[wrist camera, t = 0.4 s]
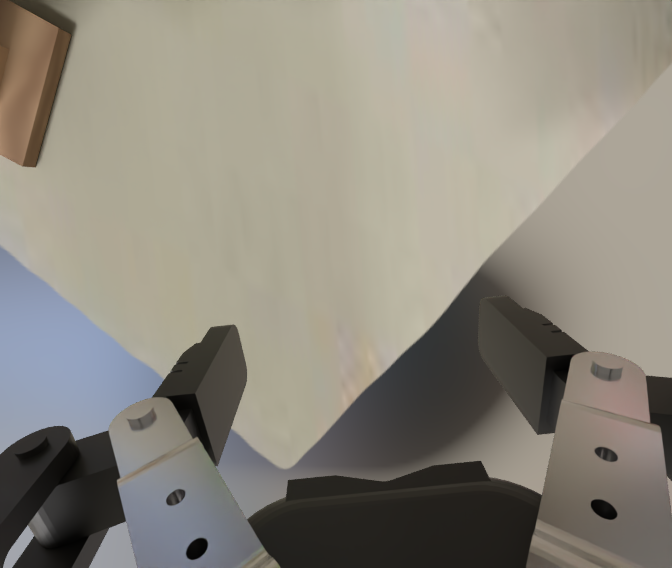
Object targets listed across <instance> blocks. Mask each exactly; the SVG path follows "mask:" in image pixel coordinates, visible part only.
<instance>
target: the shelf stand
mask: <svg viewBox="0 0 672 568" xmlns="http://www.w3.org/2000/svg"><path fill="white" fill-rule="evenodd" d="M70 38H71V34H69V33H67V32H65V31H64V30H62V29H60V28H58V27H56V26H54V25H53V24H51V23H49V22H47V21H45V20H44V19H42V18H40V17H38V16H36V15H35V14H33V13H31V12H29V11H27V10H25V9H24V8H22V7H20V6H18V5H16V4H15V3H13V2H11V1H9V0H0V155H2V156H4V157H6V158H8V159H10V160H11V161H13V162H15V163H17V164H19V165H21V166H25V167H35V166H36V163H37V159H38V155H39V152H40V148H41V144H42V141H43V137H44V133H45V130H46V126H47V122H48V119H49V115H50V111H51V108H52V104H53V100H54V97H55V93H56V89H57V86H58V82H59V78H60V75H61V71H62V67H63V64H64V60H65V56H66V53H67V49H68V45H69V42H70Z"/></svg>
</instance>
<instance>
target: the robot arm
mask: <svg viewBox="0 0 672 568" xmlns="http://www.w3.org/2000/svg"><path fill="white" fill-rule="evenodd" d="M478 327H479V328H478V347H479V351H480V355H481V357H482V359H483V360H484V362H485V363H486V364H487V366H488V367H489V369H490V370H491V371H492V373H493V374H494V376H495V377H496V378H497V380H498V381H499V382H500V384H501V385H502V387H503V388H504V389H505V391H506V392H507V394H508V395H509V396H510V397H511V399H512V400H513V402H514V403H515V405H516V406H517V407H518V409H519V410H520V411H521V413H522V414H523V416H524V417H525V418H526V420H527V421H528V422H529V424H530V425H531V426H532V428H533V429H534V431H535V432H536V433H537V435H539V434H548V433H555V435H554V439H553V444H552V449H551V454H550V459H549V464H548V468H547V474H546V478H545V483H544V488H543V493H542V495H541V494H539V493H537V492H535V491H533V490H531V489H528V488H526V487H523V486H521V485H518V484H515V483H512V482H509V481H505V480H501V479H497V478H490V477H489V476H488V474H487V473H486V470H485V468H484V466H483V464H482V462H481V461H474V462H464V463H455V464H445V465H434V466H431V467H428V468H425V469H422V470H419V471H416V472H413V473H411V474H408V475H405V476H402V477H399V478H396V479H394V480H390V481H386V482H382V481H374V480H366V479H358V478H350V477H343V476H325V477H315V478H305V479H295V480H288V486H287V494H286V497H285V498H283V499H280V500H278V501H276V502H274V503H272V504H270V505H267V506H266V507H264V508H263V509H261V510H259V511H257V512H256V513H255V514H253V515H252V516H251V517H249V518H248V519H246V517H245V516H244V514H243V512H242V510H241V509H240V507H239V505H238V504H237V502H236V500H235V499H234V497H233V496H232V494H231V492H230V490H229V489H228V487H227V485H226V484H225V482H224V480H223V479H222V477H221V475H220V474H219V472H218V471H217V469H216V467H215V466H218V464H219V460H220V458H221V455H222V452H223V449H224V446H225V443H226V440H227V438H228V435H229V432H230V429H231V426H232V423H233V420H234V417H235V414H236V412H237V409H238V406H239V403H240V400H241V397H242V394H243V391H244V388H245V386H246V382H247V367H246V362H245V358H244V354H243V350H242V346H241V341H240V337H239V333H238V330H237V327H236V326H235V325H226V326H217V327H211V328H210V329H209V331H208V332H207V334H206V335H205V337H204V338H203V340H202V341H201V343H196V344H194V345H193V346H192V347H190V348H189V349H188V350H186V351H185V352H184V353H183V354H182V355H181V357H180V358H179V360H178V361H177V363H176V365H174V367H173V368H172V370H171V371H170V372H171V373H169V374H168V375H167V377H166V378H165V380H164V381H163V382H162V384H161V386H160V387H159V388H158V390H157V391H156V393H155V394H154V395H153V397H152V398H149V399H145V400H142V401H140V402H137V403H135V404H133V405H131V406H129V407H127V408H126V409H124V410H123V411H122V412H120V413H119V414H118V415H117V416H116V417H115V418H114V419H113V421H112V422H111V424H110V426H109V430H108V431H106V432H103V433H99V434H96V435H93V436H89V437H86V438H83V439H80V440H77V441H75V440H74V437H73V435H72V433H71V431H70V429H69V428H67V427H64V426H54V427H48V428H45V429H42V430H39V431H36V432H34V433H32V434H29V435H27V436H25V437H24V438H22V439H20V440H18V441H17V442H15V443H14V444H12V445H11V446H10V447H8V448H7V449H6V450H5V451H4V452H3V453H1V454H0V568H3V564H4V561H5V558H6V556H7V554H8V552H9V550H10V549H11V547H12V546H13V544H14V543H15V542H16V540H17V539H18V537H19V536H20V535H21V533H22V532H23V531H24V529H25V528H26V527H27V525H28V526H29V527H30V529H31V530H32V532H33V534H34V537H33V539H32V540H31V542H30V543H29V545H28V546H27V547H26V549H25V550H24V552H23V553H22V555H21V556H20V557H19V559H18V560H17V562H16V563H15V565H14V566H13V567H12V568H89V566H90V564H91V562H92V560H93V558H94V556H95V554H96V552H97V551H98V549H99V547H100V545H101V543H102V541H103V539H104V537H105V535H106V533H107V531H108V529H109V528H110V527H112V526H115V525H117V524H120V523H123V522H125V521H126V523H127V527H128V531H129V535H130V539H131V543H132V548H133V552H134V556H135V560H136V564H137V568H672V513H671V506H670V497H669V490H668V482H667V476H668V478H669V479H671V481H672V378H667V377H655V376H646V375H645V373H644V371H643V370H642V369H641V368H640V367H639V366H638V365H636V364H635V363H633V362H631V361H630V360H628V359H625V358H623V357H620V356H617V355H613V354H609V353H604V352H589V351H588V350H586V349H585V348H584V347H582V346H581V345H580V344H579V343H577V342H576V341H575V340H574V339H572V338H571V337H570V336H568V335H567V334H566V333H565V332H562V331H561V329H559V328H558V327H557V326H555V325H553V323H552V322H551V321H549V320H548V319H547V318H545V317H544V316H543V315H541V314H539V313H536V312H534V311H532V310H529V309H527V308H522V307H521V306H519V305H518V304H517V303H516V302H515V301H513V300H512V299H511V298H510V297H508V296H506V295H505V296H496V297H486V298H482V299H481V301H480V304H479V326H478Z"/></svg>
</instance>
